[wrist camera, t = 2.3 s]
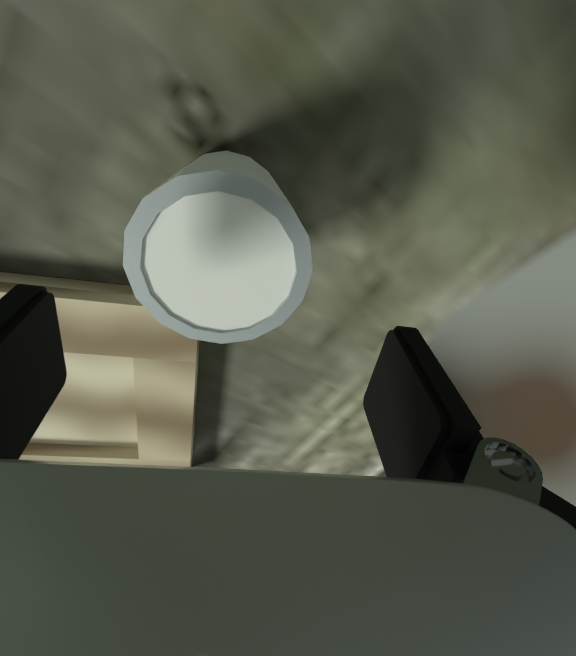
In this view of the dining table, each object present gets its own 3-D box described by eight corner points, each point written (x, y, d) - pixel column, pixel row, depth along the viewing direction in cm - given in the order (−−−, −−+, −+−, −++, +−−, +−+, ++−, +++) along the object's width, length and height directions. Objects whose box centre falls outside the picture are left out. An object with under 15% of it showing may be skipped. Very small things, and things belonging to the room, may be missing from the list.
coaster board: (-120, 259, 20) (-153, 276, 18) (202, 293, 22) (199, 311, 21) (-33, 460, 28) (-50, 485, 27) (191, 467, 31) (188, 490, 29)
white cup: (320, 214, 20) (350, 273, 15) (228, 293, 23) (222, 372, 17) (226, 100, 17) (216, 120, 11) (128, 205, 19) (79, 266, 14)
